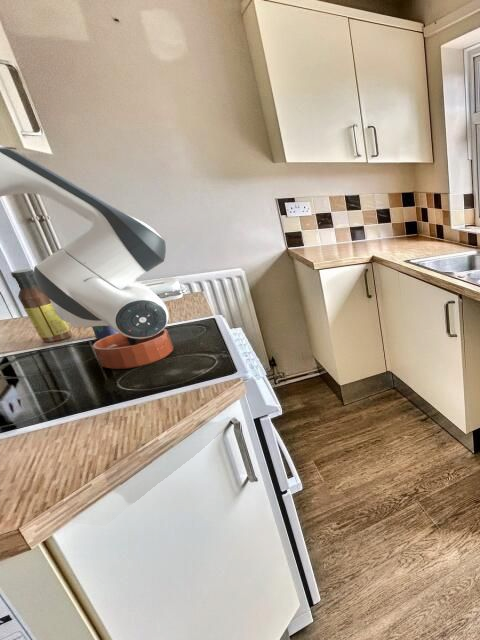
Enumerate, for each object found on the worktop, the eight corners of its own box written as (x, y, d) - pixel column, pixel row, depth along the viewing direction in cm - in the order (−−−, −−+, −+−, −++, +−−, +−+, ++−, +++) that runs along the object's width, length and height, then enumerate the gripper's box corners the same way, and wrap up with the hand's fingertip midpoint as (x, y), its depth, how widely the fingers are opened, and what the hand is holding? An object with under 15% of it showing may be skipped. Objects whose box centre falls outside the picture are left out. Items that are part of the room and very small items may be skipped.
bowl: (85, 369, 101) (75, 348, 99) (139, 345, 114) (132, 327, 112) (138, 371, 99) (130, 350, 97) (187, 347, 112) (181, 328, 110)
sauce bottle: (73, 333, 124) (43, 266, 116) (71, 339, 119) (40, 270, 111) (42, 339, 120) (8, 270, 112) (38, 345, 115) (3, 274, 108)
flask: (123, 337, 120) (108, 301, 115) (111, 341, 117) (95, 305, 113) (104, 334, 123) (89, 298, 119) (92, 337, 120) (76, 301, 116)
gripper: (185, 276, 89) (170, 267, 97) (47, 297, 75) (43, 284, 83) (194, 305, 91) (178, 293, 100) (62, 331, 77) (57, 314, 86)
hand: (116, 289), depth 91 cm, fingers open, 8 cm apart
